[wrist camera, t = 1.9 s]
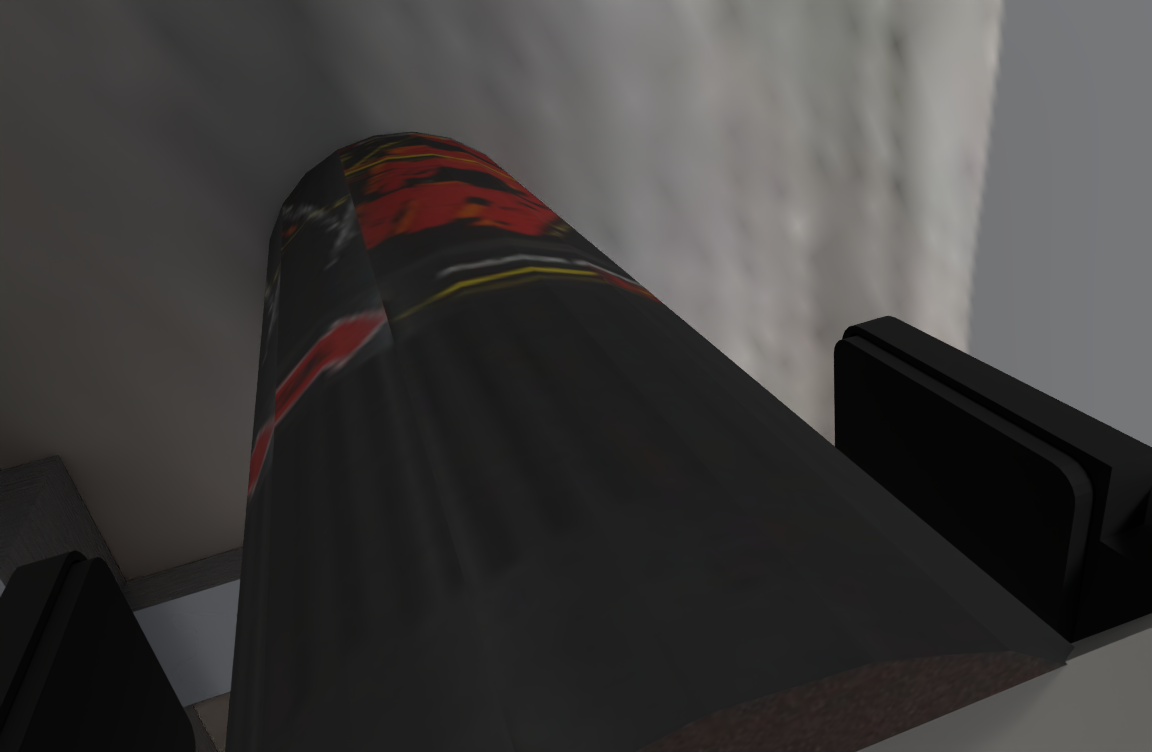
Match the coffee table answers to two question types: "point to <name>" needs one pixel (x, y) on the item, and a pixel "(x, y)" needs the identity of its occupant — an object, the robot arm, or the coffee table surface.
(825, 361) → the coffee table surface
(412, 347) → the deodorant
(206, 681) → the tabbed square frame
